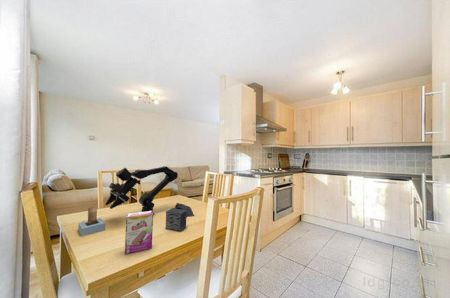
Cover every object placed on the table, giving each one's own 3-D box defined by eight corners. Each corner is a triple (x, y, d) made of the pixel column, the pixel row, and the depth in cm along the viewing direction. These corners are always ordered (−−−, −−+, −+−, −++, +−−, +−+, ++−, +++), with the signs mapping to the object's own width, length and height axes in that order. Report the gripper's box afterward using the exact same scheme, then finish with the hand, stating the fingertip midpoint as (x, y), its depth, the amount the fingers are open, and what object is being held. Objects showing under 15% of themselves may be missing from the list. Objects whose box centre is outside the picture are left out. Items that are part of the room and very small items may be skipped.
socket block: (100, 224, 105) (100, 218, 105) (105, 230, 98) (105, 222, 98) (78, 230, 98) (78, 223, 98) (81, 236, 91) (82, 228, 91)
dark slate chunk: (172, 219, 116) (172, 212, 116) (170, 209, 137) (170, 203, 137) (195, 216, 122) (195, 210, 122) (189, 207, 142) (189, 201, 142)
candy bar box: (124, 255, 75) (125, 217, 75) (125, 249, 79) (126, 213, 80) (152, 248, 80) (153, 213, 81) (151, 243, 85) (152, 210, 85)
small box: (186, 227, 103) (187, 210, 104) (180, 232, 97) (181, 213, 97) (171, 224, 107) (172, 207, 107) (165, 229, 101) (165, 211, 101)
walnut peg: (97, 228, 100) (98, 206, 101) (94, 231, 97) (94, 208, 97) (89, 228, 100) (90, 207, 100) (85, 232, 96) (86, 209, 96)
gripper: (113, 176, 114) (92, 196, 106) (123, 179, 102) (100, 202, 93) (126, 186, 120) (107, 206, 112) (137, 190, 107) (117, 213, 99)
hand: (107, 206), depth 104 cm, fingers open, 9 cm apart
